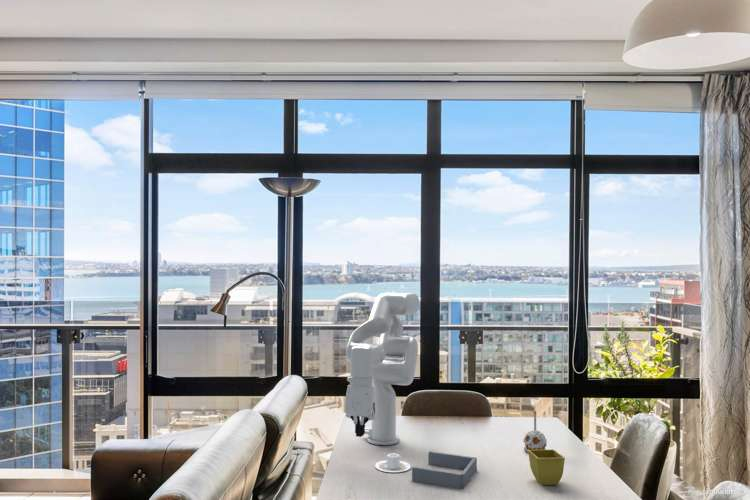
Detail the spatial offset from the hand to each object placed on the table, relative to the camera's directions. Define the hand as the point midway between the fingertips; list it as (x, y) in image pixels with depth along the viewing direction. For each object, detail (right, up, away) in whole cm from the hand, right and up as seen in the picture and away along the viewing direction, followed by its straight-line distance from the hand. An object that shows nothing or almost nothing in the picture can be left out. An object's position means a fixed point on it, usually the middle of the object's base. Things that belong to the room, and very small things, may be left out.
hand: (359, 435), depth 192 cm
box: (+28, -9, -11) cm, 31 cm away
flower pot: (+59, -9, -17) cm, 62 cm away
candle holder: (+11, -10, -4) cm, 15 cm away
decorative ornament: (+64, -11, +13) cm, 67 cm away
